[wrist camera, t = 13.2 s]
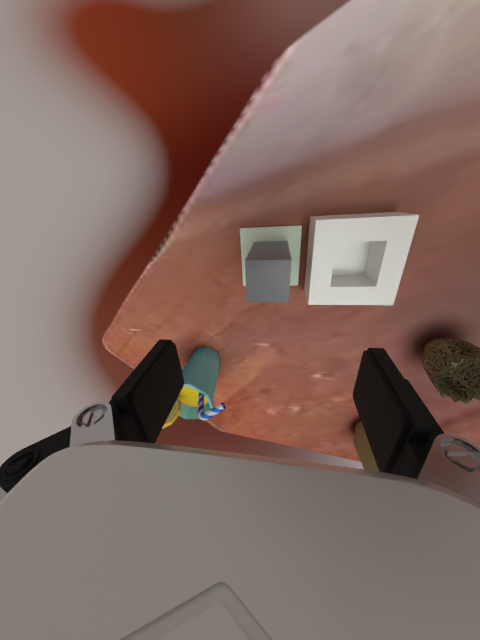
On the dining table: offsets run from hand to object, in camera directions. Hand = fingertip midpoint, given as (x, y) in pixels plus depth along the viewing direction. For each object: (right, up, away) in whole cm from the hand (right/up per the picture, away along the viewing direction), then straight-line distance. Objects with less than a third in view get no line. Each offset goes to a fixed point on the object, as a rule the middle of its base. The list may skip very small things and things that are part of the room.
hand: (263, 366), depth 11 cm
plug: (+3, +11, +20) cm, 23 cm away
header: (+13, +11, +19) cm, 25 cm away
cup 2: (+29, -1, +23) cm, 37 cm away
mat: (+3, +11, +20) cm, 23 cm away
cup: (-7, -4, +31) cm, 32 cm away
